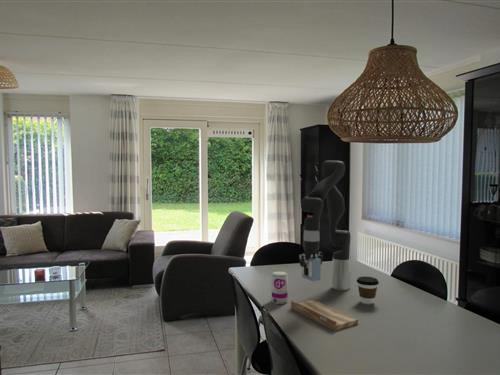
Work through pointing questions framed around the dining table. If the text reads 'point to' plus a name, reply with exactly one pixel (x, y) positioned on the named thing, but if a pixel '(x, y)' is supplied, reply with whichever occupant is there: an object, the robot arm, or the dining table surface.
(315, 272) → the carton
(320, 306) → the wooden plank
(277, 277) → the supplement can
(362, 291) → the coffee cup
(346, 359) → the dining table surface
